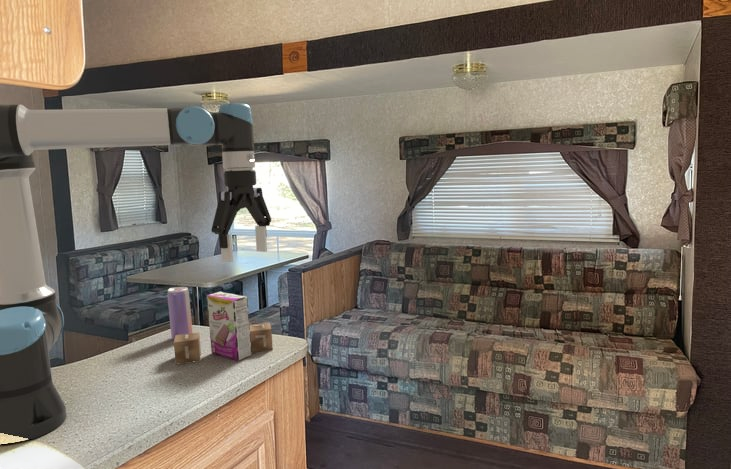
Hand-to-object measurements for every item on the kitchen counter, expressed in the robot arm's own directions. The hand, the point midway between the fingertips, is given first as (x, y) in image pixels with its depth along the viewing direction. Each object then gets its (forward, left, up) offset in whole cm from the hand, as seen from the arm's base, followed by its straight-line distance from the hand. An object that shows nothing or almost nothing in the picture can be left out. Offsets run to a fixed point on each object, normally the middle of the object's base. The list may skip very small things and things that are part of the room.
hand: (245, 256), depth 134 cm
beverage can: (-19, +28, -28) cm, 44 cm away
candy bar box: (-5, +9, -28) cm, 30 cm away
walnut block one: (-16, +10, -28) cm, 34 cm away
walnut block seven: (+3, +12, -28) cm, 31 cm away
